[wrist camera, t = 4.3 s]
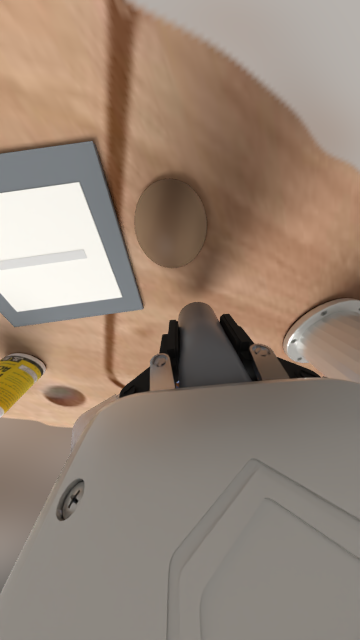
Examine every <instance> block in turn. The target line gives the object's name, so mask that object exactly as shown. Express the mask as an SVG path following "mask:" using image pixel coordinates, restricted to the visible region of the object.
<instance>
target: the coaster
mask: <svg viewBox="0 0 360 640" xmlns="http://www.w3.org/2000/svg"><path fill="white" fill-rule="evenodd" d="M134 224H135V232H136V236H137V240H138V242H139V244H140V246H141V248H142V250H143V251H144V253H145V254H146V255H147V256H148V257H149V258H150V259H151V260H152V261H153V262H155V263H156V264H158V265H160V266H163V267H167V268H177V267H181V266H184V265H186V264H188V263H189V262H191V261H192V260H193V259H194V258H195V257H196V256H197V255H198V253H199V252H200V250H201V248H202V246H203V244H204V241H205V237H206V231H207V219H206V213H205V210H204V206H203V204H202V202H201V200H200V198H199V196H198V195H197V194H196V192H195V191H194V190H193V189H192V188H191V187H190V186H188V185H187V184H185V183H184V182H182V181H179V180H176V179H163V180H159V181H157V182H155V183H153V184H152V185H150V186H149V187H148V188H147V189H146V190H145V191H144V192H143V194H142V195H141V197H140V199H139V201H138V204H137V207H136V211H135V220H134Z"/></svg>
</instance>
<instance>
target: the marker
mask: <svg viewBox="0 0 360 640" xmlns="http://www.w3.org/2000/svg"><path fill="white" fill-rule="evenodd" d="M178 325H179V388H185V387H196V386H207V385H219V384H230V383H242V382H252V380H251V378H250V377H249V375H248V373H247V371H246V369H245V367H244V366H243V364H242V362H241V360H240V358H239V357H238V355H237V353H236V351H235V349H234V348H233V346H232V344H231V342H230V340H229V338H228V337H227V335H226V333H225V331H224V329H223V328H222V326H221V324H220V322H219V320H218V319H217V317H216V315H215V313H214V311H213V310H212V308H211V307H210V306H209V305H207V304H205V303H202V302H194V303H190V304H188V305H186V306H185V307H184V308H183V309H182V310H181V312H180V314H179V317H178Z"/></svg>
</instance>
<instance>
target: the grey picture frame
mask: <svg viewBox="0 0 360 640" xmlns="http://www.w3.org/2000/svg"><path fill="white" fill-rule="evenodd" d="M143 308H144V307H143V304H142V300H141V297H140V294H139V290H138V287H137V283H136V280H135V277H134V273H133V270H132V267H131V263H130V260H129V256H128V253H127V250H126V246H125V243H124V240H123V236H122V233H121V229H120V226H119V223H118V219H117V216H116V213H115V209H114V206H113V202H112V199H111V196H110V192H109V189H108V186H107V182H106V179H105V175H104V172H103V169H102V165H101V162H100V159H99V155H98V152H97V148H96V145H95V144H94V143H93V141H89V142H81V143H74V144H67V145H60V146H53V147H46V148H38V149H31V150H24V151H17V152H10V153H3V154H0V313H1V314H2V315H3V316H4V317H5V318H6V319H7V320H8V321H9V322H10V323H11V324H12V325H13V326H14V327H19V326H26V325H34V324H41V323H48V322H55V321H62V320H69V319H77V318H84V317H91V316H98V315H105V314H112V313H120V312H127V311H134V310H141V309H143Z"/></svg>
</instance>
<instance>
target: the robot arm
mask: <svg viewBox="0 0 360 640" xmlns="http://www.w3.org/2000/svg"><path fill="white" fill-rule="evenodd" d="M220 324H221V326H222V328H223V329H224V331H225V333H226V335H227V337H228V338H229V340H230V342H231V344H232V346H233V348H234V349H235V351H236V353H237V355H238V357H239V358H240V360H241V362H242V364H243V366H244V367H245V369H246V371H247V373H248V375H249V377H250V378H251V380H252V382H242V383H230V384H219V385H207V386H196V387H185V388H176V383H177V382H178V381H179V325H178V321H176V320H170V322H169V332H168V334H163V335H162V341H161V347H160V353H159V354H157V355H155V356H154V357H153V358H152V359H151V361H150V367H149V368H148V369H146V370H145V371H144V372H142V373H141V374H140V375H139V376H137V377H136V378H135V379H133V380H132V381H131V382H130V383H128V384H127V385H126V386H125V387H124V388H123V389H122V390H121V392H120V394H119V395H117V396H116V394H115V395H113V396H112V397H110V398H108V399H107V400H105V401H103V402H102V403H100V404H98V405H97V406H95V407H93V408H92V409H90V410H88V411H87V412H85V413H84V414H82V415H81V416H80V417H79V418H78V419H77V421H76V422H75V424H74V426H73V432H72V444H71V454H70V456H69V458H68V459H67V461H66V463H65V465H64V467H63V469H62V471H61V473H60V475H59V477H58V478H57V481H56V482H55V485H54V486H53V488H52V490H51V493H50V495H49V497H48V498H47V501H46V503H45V505H44V507H43V509H42V511H41V513H40V515H39V517H38V519H37V521H36V523H35V525H34V527H33V529H32V531H31V533H30V535H29V537H28V539H27V541H26V543H25V545H24V547H23V549H22V551H21V553H20V555H19V557H18V559H17V561H16V563H15V565H14V567H13V569H12V571H11V573H10V575H9V577H8V579H7V581H6V583H5V585H4V587H3V590H2V592H1V594H0V640H360V300H357V299H353V298H342V299H336V300H333V301H330V302H327V303H324V304H322V305H320V306H318V307H316V308H314V309H312V310H311V311H309V312H308V313H306V314H305V315H304V316H302V317H301V318H300V319H299V320H298V321H297V322H296V323H295V324H294V325H293V326H292V327H291V328H290V330H289V331H288V333H287V335H286V337H285V339H284V343H283V350H284V352H285V354H286V355H287V356H288V357H289V358H291V359H292V360H293V361H296V362H301V363H311V364H312V365H313V366H314V367H315V368H317V369H318V370H319V371H320V372H321V373H322V374H324V375H325V376H326V377H324V376H323V377H322V378H321V377H320V376H319V375H318V374H316V373H315V372H313V371H311V370H309V369H307V368H304V367H302V366H299V365H296V364H294V363H291V362H289V361H286V360H283V359H281V358H278V357H276V355H275V354H274V352H273V351H272V349H271V348H269V347H268V346H266V345H263V344H254V343H253V341H252V340H251V339H250V338H249V336H248V335H247V334H246V333H245V331H244V330H243V329H242V327H240V326H238V325H237V324H236V322H235V321H234V320H233V318H232V317H231V316H230V314H223V315H222V316H220Z"/></svg>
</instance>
